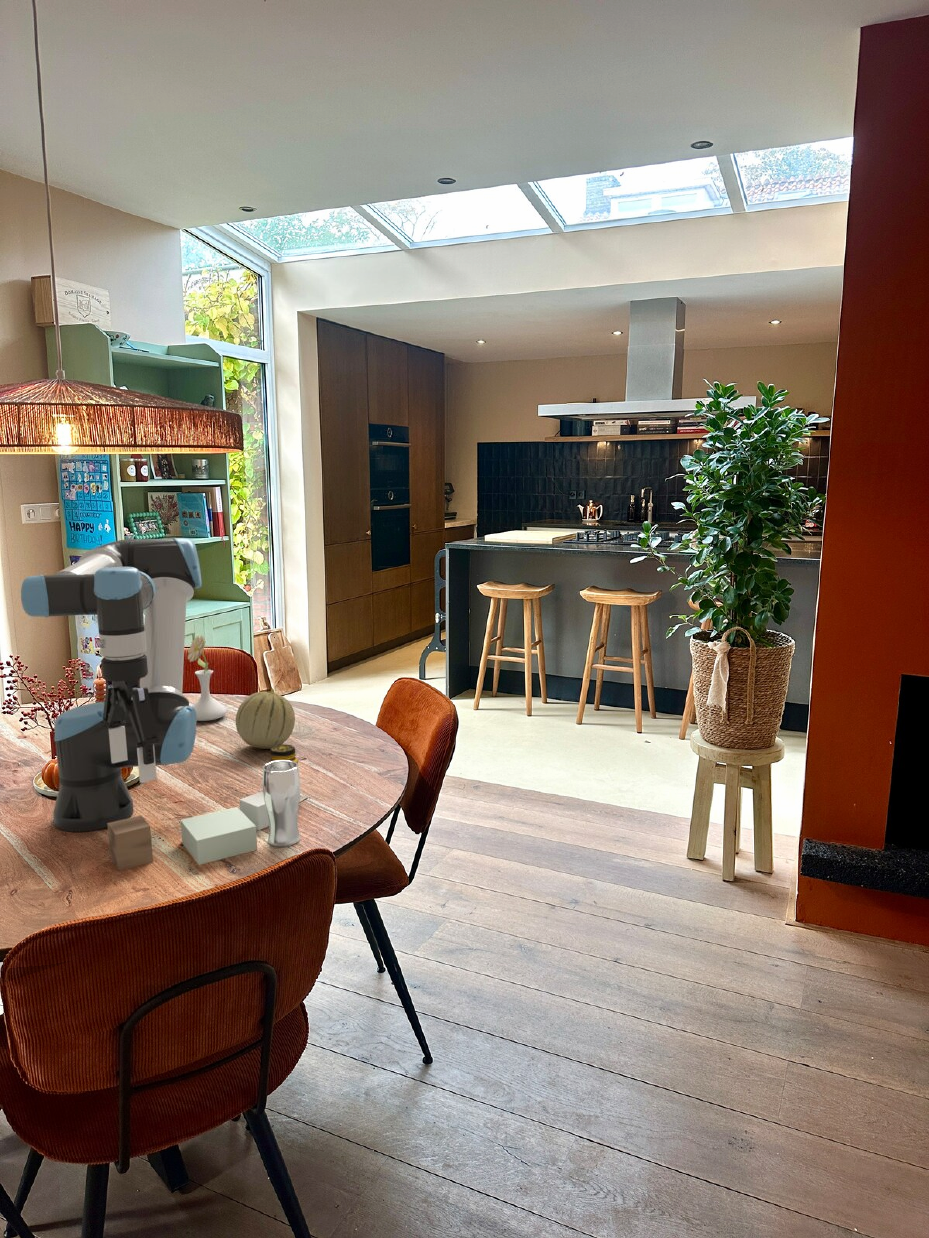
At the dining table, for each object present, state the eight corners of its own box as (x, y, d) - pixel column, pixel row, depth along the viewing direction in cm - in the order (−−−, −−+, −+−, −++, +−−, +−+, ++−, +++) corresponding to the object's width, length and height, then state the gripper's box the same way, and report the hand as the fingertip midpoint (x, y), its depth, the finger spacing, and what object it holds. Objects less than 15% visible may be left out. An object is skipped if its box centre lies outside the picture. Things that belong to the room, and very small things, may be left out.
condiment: (286, 809, 177) (283, 755, 175) (256, 802, 181) (253, 748, 179) (309, 797, 183) (306, 745, 181) (279, 790, 187) (276, 739, 185)
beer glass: (305, 831, 166) (301, 759, 163) (299, 847, 159) (295, 771, 156) (269, 832, 165) (265, 759, 163) (262, 848, 159) (258, 772, 156)
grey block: (240, 822, 171) (239, 799, 170) (265, 813, 175) (263, 790, 174) (259, 830, 167) (257, 806, 166) (283, 820, 171) (282, 797, 170)
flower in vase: (186, 714, 246) (180, 630, 241) (226, 711, 249) (221, 628, 245) (185, 727, 233) (179, 639, 229) (228, 723, 237) (223, 636, 232)
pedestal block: (182, 844, 162) (180, 819, 161) (238, 830, 167) (237, 806, 167) (198, 866, 152) (196, 840, 152) (257, 851, 158) (256, 826, 157)
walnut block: (110, 858, 155) (107, 823, 154) (144, 850, 159) (141, 815, 157) (118, 871, 150) (115, 834, 149) (153, 861, 154) (150, 825, 153)
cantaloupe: (226, 754, 211) (222, 696, 208) (254, 736, 225) (251, 682, 222) (280, 758, 208) (277, 700, 205) (305, 740, 222) (303, 685, 219)
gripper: (78, 648, 155) (88, 758, 158) (129, 670, 136) (139, 795, 140) (119, 642, 160) (128, 749, 163) (173, 663, 141) (182, 783, 145)
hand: (133, 770), depth 152 cm, fingers open, 13 cm apart
